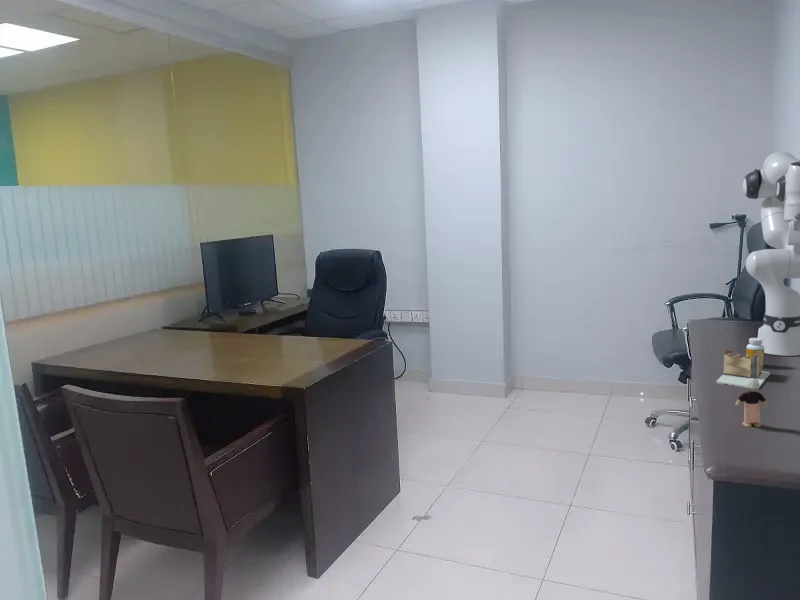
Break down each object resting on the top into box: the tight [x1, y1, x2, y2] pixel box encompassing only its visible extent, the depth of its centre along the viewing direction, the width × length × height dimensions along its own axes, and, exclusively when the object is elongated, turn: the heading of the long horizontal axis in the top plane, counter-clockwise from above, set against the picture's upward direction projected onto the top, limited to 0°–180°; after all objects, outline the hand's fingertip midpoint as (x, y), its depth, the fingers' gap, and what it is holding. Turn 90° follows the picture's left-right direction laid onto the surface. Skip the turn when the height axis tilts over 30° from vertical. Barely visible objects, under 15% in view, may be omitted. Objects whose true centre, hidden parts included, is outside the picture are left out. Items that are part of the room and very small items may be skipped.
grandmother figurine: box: [734, 378, 769, 428], centre depth 159 cm, size 8×4×13 cm, turn 92°
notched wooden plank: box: [723, 353, 752, 377], centre depth 200 cm, size 8×2×7 cm, turn 46°
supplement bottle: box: [745, 337, 765, 368], centre depth 212 cm, size 5×5×10 cm
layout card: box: [715, 370, 771, 390], centre depth 199 cm, size 20×12×1 cm, turn 140°
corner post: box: [724, 348, 733, 356], centre depth 203 cm, size 2×2×8 cm
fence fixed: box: [752, 351, 763, 379], centre depth 200 cm, size 10×2×7 cm, turn 140°
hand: (797, 257), depth 193 cm, fingers closed
